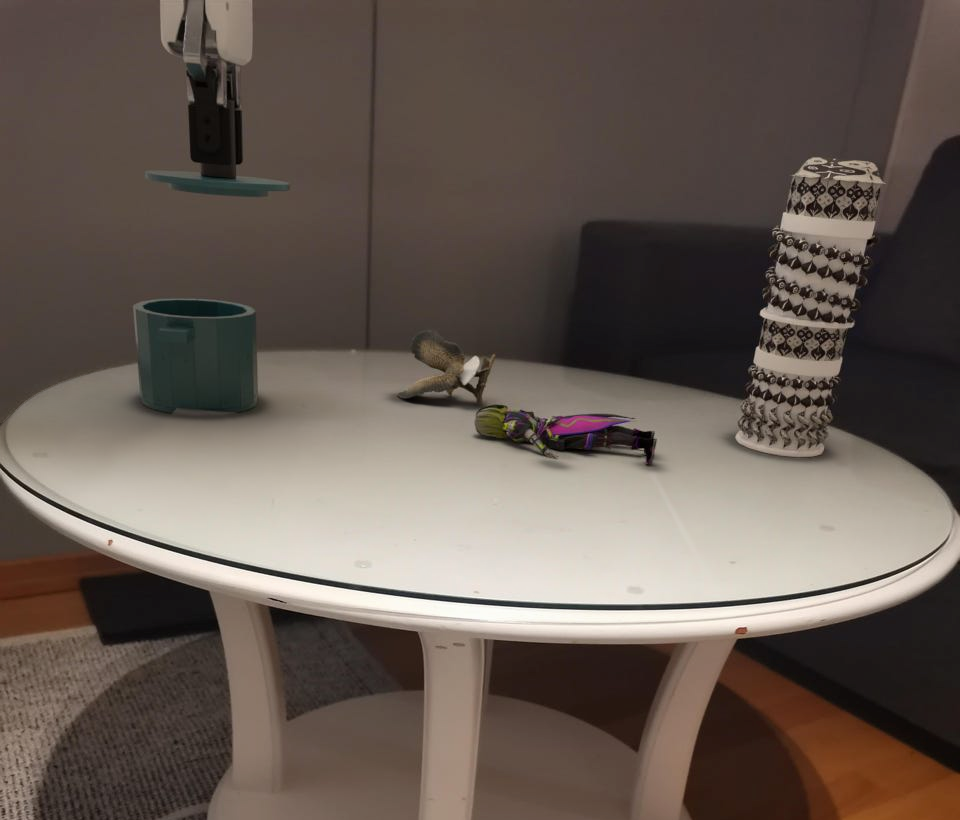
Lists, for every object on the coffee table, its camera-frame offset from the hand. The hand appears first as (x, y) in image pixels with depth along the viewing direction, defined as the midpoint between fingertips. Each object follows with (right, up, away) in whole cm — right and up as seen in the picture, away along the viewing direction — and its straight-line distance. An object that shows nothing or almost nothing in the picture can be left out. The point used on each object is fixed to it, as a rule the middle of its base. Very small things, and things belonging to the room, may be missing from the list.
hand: (217, 161), depth 79 cm
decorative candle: (+50, -20, +16) cm, 57 cm away
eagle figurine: (+17, -14, +22) cm, 31 cm away
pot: (-5, -16, +14) cm, 22 cm away
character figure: (+29, -22, +8) cm, 37 cm away
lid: (0, -2, +1) cm, 2 cm away
